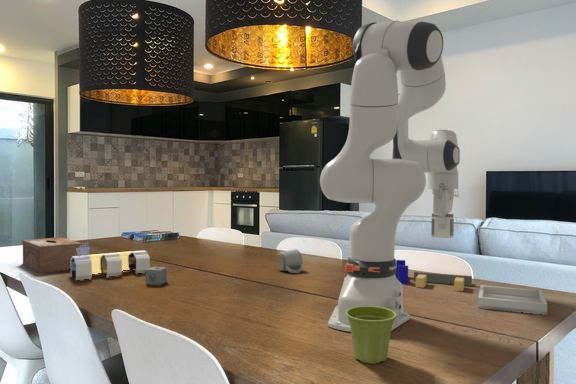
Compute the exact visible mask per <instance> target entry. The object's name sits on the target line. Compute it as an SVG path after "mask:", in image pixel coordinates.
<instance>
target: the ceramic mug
mask: <svg viewBox="0 0 576 384" xmlns="http://www.w3.org/2000/svg"><path fill="white" fill-rule="evenodd" d="M275 265H276V267H277V269H278V271H280V272H289V273H291V274H294V273H296V274H300V273H302V271H303V265H304V264H303V256H302V253H301V252H300V251H299V249H295V248H294V249H290V250H286V251H281V252H278V253H277V254H276V256H275Z"/></svg>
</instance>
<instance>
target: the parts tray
mask: <svg viewBox="0 0 576 384" xmlns="http://www.w3.org/2000/svg"><path fill="white" fill-rule="evenodd" d="M478 291H479V292H478V296H477V298H478V299H477V308H478V309H484V310H485V309H486V310H493V311H494V310H495V311H503V312H511V311H512V313H521V312H523V313H522V314H530V313H532V315H533V314H534V315H540V314H542V315H541V316H548V302H547V300H546V297H545V294H544V291H543V290H540V289H530V288H529V289H528V288H519V287H517V288H516V287H506V286H505V287H504V286H496V285H495V286H494V285H493V286H492V285H483V284H480V286H479V290H478Z"/></svg>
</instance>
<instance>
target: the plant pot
mask: <svg viewBox="0 0 576 384" xmlns="http://www.w3.org/2000/svg"><path fill="white" fill-rule="evenodd" d="M346 316H347V317H348V320H349V323H350V327H351V332H350V333H351V339H352V340H351V341H352V349H353V356H354V358H355V359H356V360H359V361H360V362H361V363H364V364H372V365H375V364H376V363H377V364H380V362H386V361H387V360H388V355H389V347H390V340H391V334H392V331H391V329H392V325H393V323H394V319H395V318H396V313H395V312H394V311H392V310H390V309H387V308H382V307H375V306H359V307H353V308H350V309H348V310H347V311H346Z"/></svg>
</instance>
